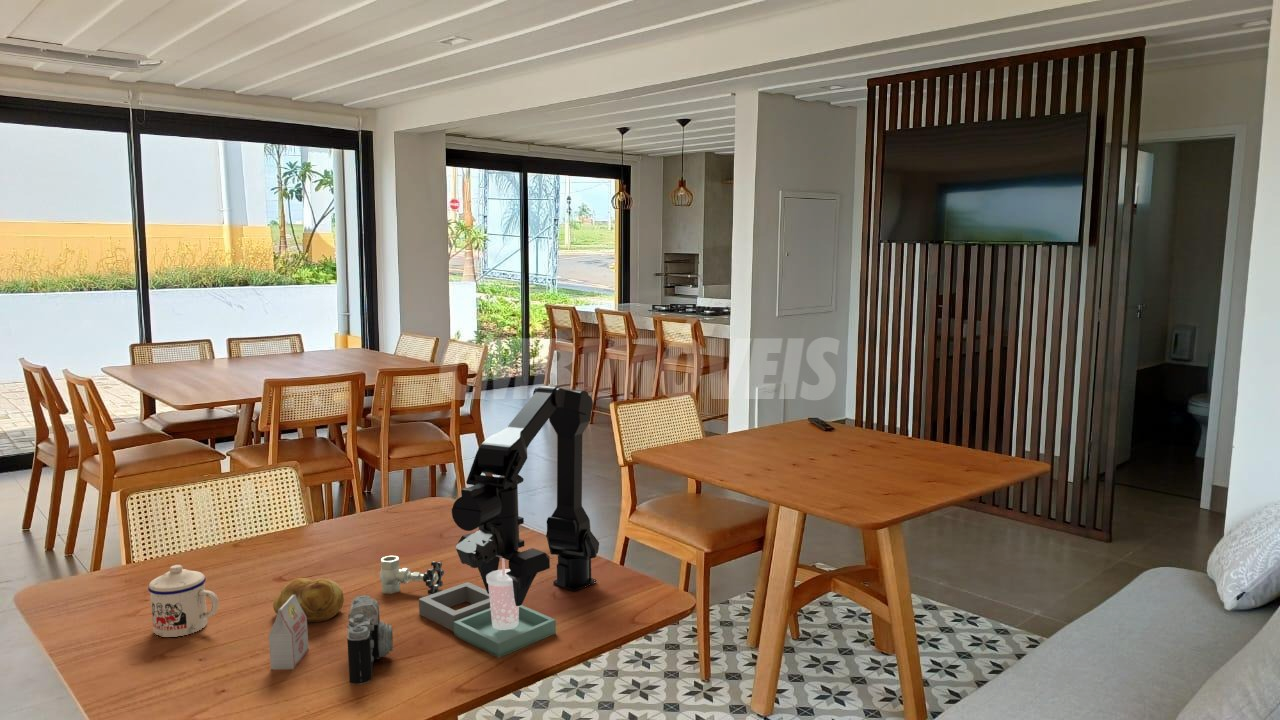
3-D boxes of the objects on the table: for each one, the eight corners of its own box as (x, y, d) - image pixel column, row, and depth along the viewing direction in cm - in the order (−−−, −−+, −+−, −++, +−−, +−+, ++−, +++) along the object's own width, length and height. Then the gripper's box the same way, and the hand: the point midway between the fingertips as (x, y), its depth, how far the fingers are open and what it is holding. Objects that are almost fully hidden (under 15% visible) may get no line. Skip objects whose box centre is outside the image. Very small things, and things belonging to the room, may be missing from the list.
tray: (510, 613, 164) (510, 600, 164) (555, 633, 156) (555, 619, 155) (454, 635, 155) (453, 621, 155) (498, 657, 147) (498, 643, 146)
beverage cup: (521, 631, 152) (519, 553, 150) (485, 632, 152) (482, 554, 150) (524, 616, 158) (522, 541, 156) (489, 617, 158) (487, 542, 156)
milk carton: (271, 669, 143) (266, 611, 142) (286, 650, 150) (283, 594, 149) (293, 669, 143) (290, 610, 142) (308, 650, 150) (305, 593, 149)
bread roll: (262, 622, 161) (259, 580, 160) (296, 601, 171) (294, 561, 170) (323, 629, 158) (321, 587, 157) (354, 608, 167) (352, 567, 166)
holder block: (468, 596, 172) (467, 581, 172) (503, 612, 165) (503, 597, 164) (419, 614, 164) (418, 598, 164) (454, 631, 157) (453, 615, 156)
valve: (373, 596, 173) (430, 600, 171) (371, 564, 172) (429, 567, 170) (389, 583, 179) (444, 587, 177) (387, 552, 178) (443, 556, 176)
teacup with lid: (140, 638, 155) (134, 574, 153) (174, 616, 164) (169, 556, 162) (203, 641, 153) (198, 577, 152) (234, 619, 162) (229, 558, 161)
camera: (392, 680, 140) (389, 620, 138) (347, 686, 138) (343, 625, 136) (393, 640, 154) (391, 585, 152) (353, 644, 152) (350, 589, 151)
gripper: (431, 512, 153) (434, 598, 155) (497, 537, 140) (500, 630, 143) (483, 498, 161) (486, 580, 163) (550, 520, 148) (553, 608, 151)
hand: (504, 599), depth 155 cm, fingers closed on beverage cup, 7 cm apart
